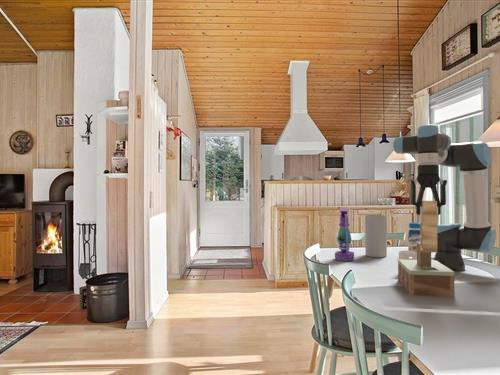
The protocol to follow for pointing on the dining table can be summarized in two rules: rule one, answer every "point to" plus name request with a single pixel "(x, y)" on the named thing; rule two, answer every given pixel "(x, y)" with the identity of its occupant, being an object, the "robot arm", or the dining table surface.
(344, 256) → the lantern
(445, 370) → the dining table surface
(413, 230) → the beverage bottle
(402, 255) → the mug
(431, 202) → the tall wooden block
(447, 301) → the dining table surface
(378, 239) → the cylinder vase
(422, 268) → the lid
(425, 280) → the open wooden box
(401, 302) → the dining table surface
